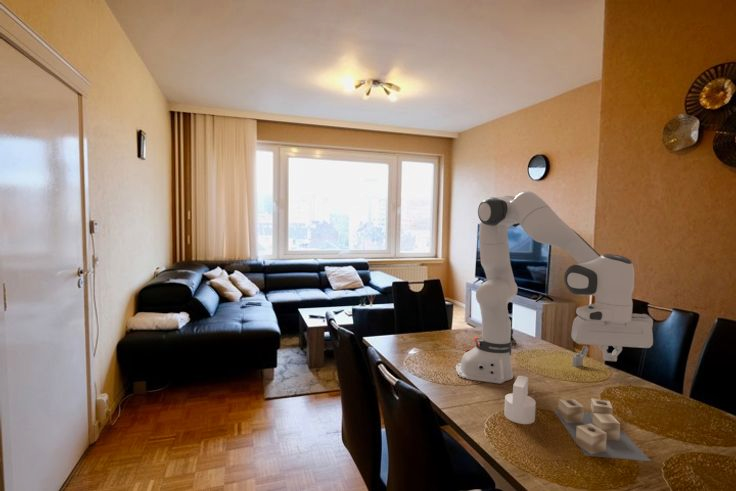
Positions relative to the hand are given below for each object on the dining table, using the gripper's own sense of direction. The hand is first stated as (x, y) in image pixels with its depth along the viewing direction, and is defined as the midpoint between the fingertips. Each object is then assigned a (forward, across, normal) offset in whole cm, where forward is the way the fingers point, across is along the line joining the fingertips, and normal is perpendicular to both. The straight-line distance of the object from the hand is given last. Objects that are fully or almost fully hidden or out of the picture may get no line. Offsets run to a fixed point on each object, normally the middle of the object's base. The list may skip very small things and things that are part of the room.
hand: (609, 360), depth 107 cm
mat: (+23, +2, -1) cm, 23 cm away
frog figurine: (+24, +10, -85) cm, 89 cm away
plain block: (+22, 0, 0) cm, 22 cm away
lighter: (+23, -16, -57) cm, 63 cm away
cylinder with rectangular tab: (+23, +22, -7) cm, 33 cm away
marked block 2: (+22, -3, -9) cm, 24 cm away
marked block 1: (+22, +6, -8) cm, 24 cm away
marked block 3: (+22, +7, +7) cm, 24 cm away
